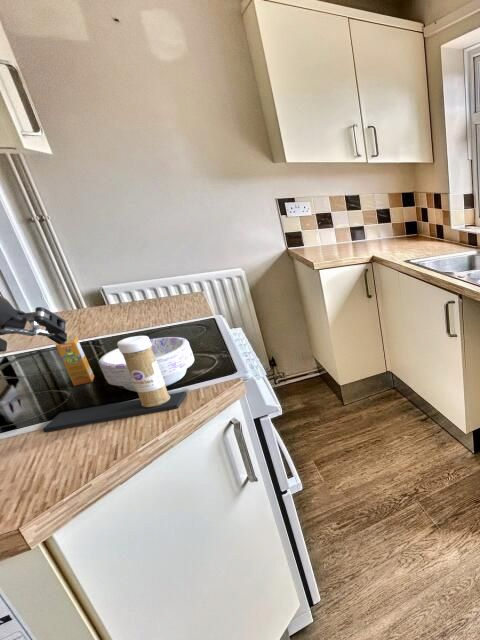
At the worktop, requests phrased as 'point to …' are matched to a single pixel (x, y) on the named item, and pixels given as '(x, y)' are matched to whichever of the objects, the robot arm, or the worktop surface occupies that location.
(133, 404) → the strip
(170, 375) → the paper bowls
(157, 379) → the sprinkles bottle
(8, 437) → the worktop surface
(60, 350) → the supplement box
